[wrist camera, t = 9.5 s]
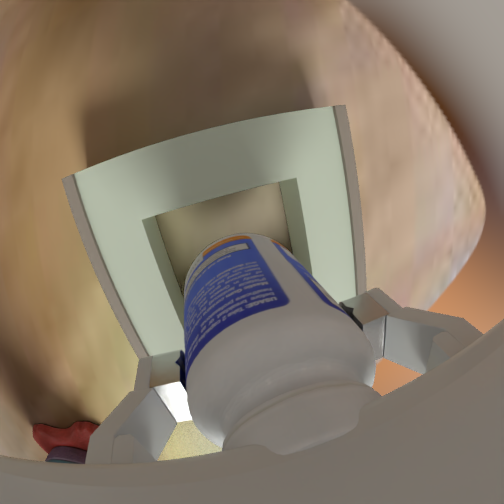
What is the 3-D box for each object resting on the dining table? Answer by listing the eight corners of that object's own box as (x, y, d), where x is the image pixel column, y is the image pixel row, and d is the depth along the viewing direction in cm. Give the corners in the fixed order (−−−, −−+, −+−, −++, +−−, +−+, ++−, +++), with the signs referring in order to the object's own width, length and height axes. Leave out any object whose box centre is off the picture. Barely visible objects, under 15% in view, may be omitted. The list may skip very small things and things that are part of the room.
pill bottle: (179, 329, 14) (188, 525, 5) (192, 221, 12) (200, 421, 3) (284, 335, 15) (365, 497, 6) (311, 238, 13) (468, 379, 4)
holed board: (87, 171, 15) (61, 179, 11) (315, 110, 16) (345, 104, 13) (163, 358, 20) (161, 395, 17) (342, 305, 21) (366, 332, 18)
